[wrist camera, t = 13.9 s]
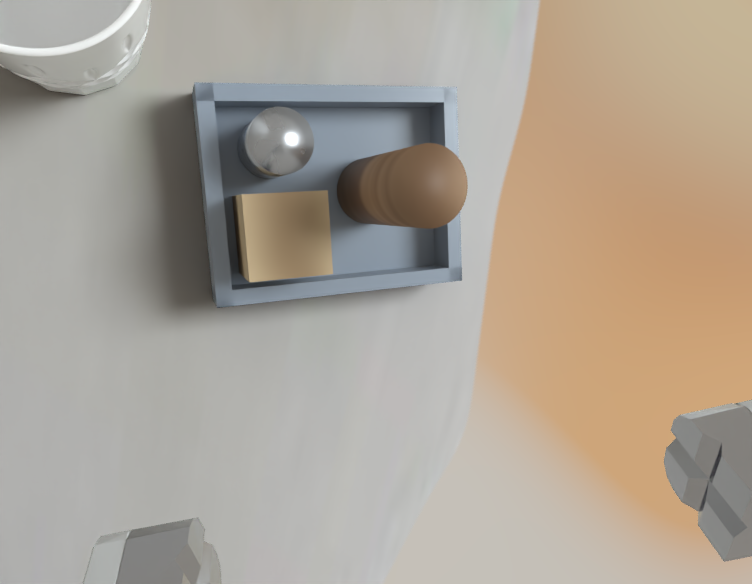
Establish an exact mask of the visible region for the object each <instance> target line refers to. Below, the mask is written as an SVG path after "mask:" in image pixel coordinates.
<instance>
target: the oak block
mask: <svg viewBox="0 0 752 584" xmlns="http://www.w3.org/2000/svg"><path fill="white" fill-rule="evenodd" d="M232 202H233V213H234V223H235V234H236V245H237V256H238V266H239V273H240V274H241V275H242V276H243V277H244V278H245V279H246V280H247V281H249V282H259V281H269V280H279V279H289V278H299V277H309V276H319V275H330V274H333V264H332V249H331V233H330V218H329V203H328V190H324V191H303V192H281V193H260V194H241V195H235V196H232Z"/></svg>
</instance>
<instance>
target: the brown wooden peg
mask: <svg viewBox="0 0 752 584" xmlns="http://www.w3.org/2000/svg"><path fill="white" fill-rule="evenodd" d="M466 195H467V176H466V172H465V169H464V167H463V165H462V163H461V161H460V160H459V158H458V157H457V156H456V155H455V154H454V153H453V152H452V151H451V150H450V149H448V148H446V147H444V146H442V145H439V144H435V143H423V144H419V145H415V146H411V147H407V148H403V149H399V150H395V151H391V152H387V153H383V154H379V155H375V156H371V157H366V158H362V159H358V160H356V161H354V162H352V163H350V164H349V165H348V166H347V167H346V168H345V169H344V170H343V172H342V173H341V175H340V177H339V180H338V184H337V198H338V201H339V204H340V206H341V208H342V210H343V211H344V212H345V214H346V215H347V216H349V217H350V218H351V219H353V220H354V221H357V222H360V223H365V224H376V225H389V226H401V227H413V228H425V229H433V228H438V227H441V226H444V225H446V224H447V223H449V222H450V221H452V220H453V219H454V218H455V217H456V216H457V215H458V213H459V212H460V210H461V209H462V207H463V205H464V202H465V199H466Z"/></svg>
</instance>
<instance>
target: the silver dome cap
mask: <svg viewBox="0 0 752 584" xmlns="http://www.w3.org/2000/svg"><path fill="white" fill-rule="evenodd" d="M313 149H314V136H313V132H312V129H311V127H310V125H309V123H308V122H307V121H306V119H305V118H304V117H303V116H302V115H301V114H299V113H298V112H296V111H295V110H293V109H290V108H287V107H271V108H268V109H266V110H264V111H262V112H261V113H260V114H258V115H257V116H256V117H255V118H254V119H253V120H252V121H251V122H250V123H249V124H248V125H247V126H246V127H245V128H244V130H243V131H242V133H241V134H240V137H239V140H238V154H239V158H240V160H241V162H242V164H243V165H244V167H245V168H246V169H247V170H248V171H249V172H250V173H252V174H253V175H255V176H258V177H260V178H265V179H271V178H276V177H280V176H284V175H288V174H291V173H294V172H297V171H298V170H300V169H302V168H303V167H304V166H305V165H306V164H307V163H308V161H309V160H310V158H311V156H312V153H313Z"/></svg>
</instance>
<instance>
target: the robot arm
mask: <svg viewBox="0 0 752 584" xmlns="http://www.w3.org/2000/svg"><path fill="white" fill-rule="evenodd" d="M671 431H672V433H673V434H674V435H675V436H676V439H675V440H674V441H673V442H672V443H671V444H670V445H669V446H668V447H667V448H666V453H665V458H664V465H665V469H666V474H667V478H668V479H669V482H670V484H671V486H672V488H673V490H674V491H675V493H676V494H677V496H678V497H679V499H680V500H681V502H683V503H685V504H686V505H688V506H690V507H692V508H693V509H695V510H697V511H699V513H698V514H699V515H698V526H699V527H700V528H701V530H702V531H703V533H704V534H705V536H706V537H707V538H708V540H709V541H710V543H711V544H712V545H713V547H714V548H715V549H716V551H717V552H718V554H719V555H720V556H721V558H722V559H723V561H729V560H735V559H740V558H745V557H750V556H752V400H749V401H744V402H741V403H736V404H732V403H731V404H727V405H722V406H718V407H713V408H709V409H704V410H701V411H696V412H691V413H687V414H682V415H679V416H678V417H677V418H676V419H675V420H674V421H673V425H672V428H671ZM204 532H205V529H204V527H203V525H202V523H201V522H200V520H199V518H193V519H188V520H182V521H177V522H172V523H166V524H161V525H156V526H151V527H145V528H140V529H135V530H129V531H124V532H119V533H114V534H109V535H105V536H100V538H99V540H98V541H97V543H96V544H95V546H94V547H93V550H92V553H91V557H90V560H89V564H88V567H87V571H86V574H85V578H84V581H83V584H221V571H220V564H219V560H218V556H217V553H216V551H215V549H214V547H213V545H212V544H210V543H207V542H205V541H204Z"/></svg>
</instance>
